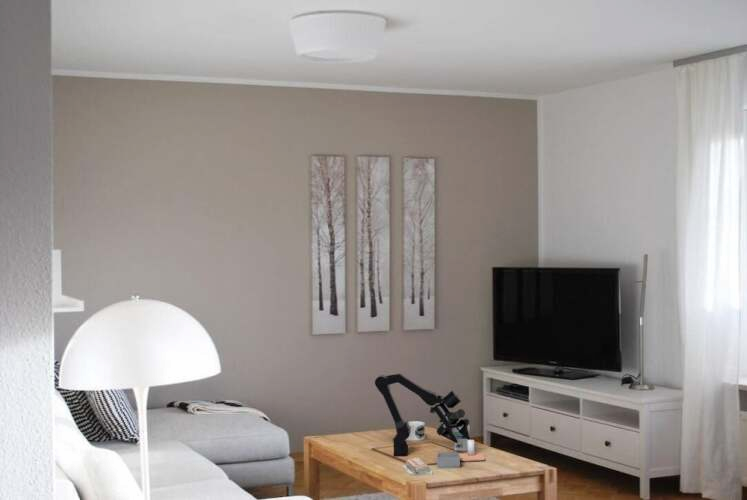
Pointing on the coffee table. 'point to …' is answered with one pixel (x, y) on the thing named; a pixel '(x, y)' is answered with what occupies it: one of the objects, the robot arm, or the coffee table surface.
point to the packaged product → (417, 467)
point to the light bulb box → (461, 440)
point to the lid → (471, 453)
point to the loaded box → (448, 460)
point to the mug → (416, 431)
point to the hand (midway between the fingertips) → (463, 441)
